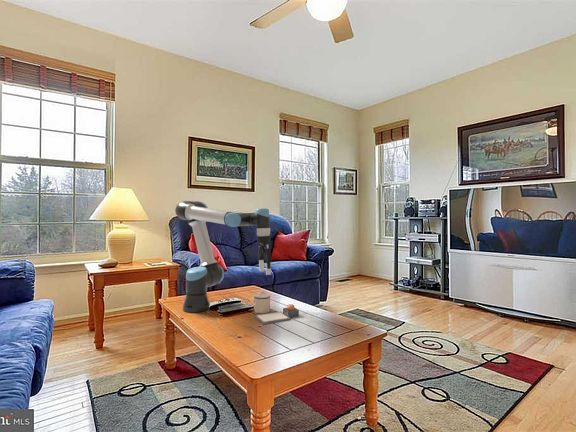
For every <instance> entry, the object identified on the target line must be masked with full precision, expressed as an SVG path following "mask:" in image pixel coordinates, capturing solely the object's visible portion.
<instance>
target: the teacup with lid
mask: <svg viewBox="0 0 576 432" xmlns="http://www.w3.org/2000/svg"><path fill="white" fill-rule="evenodd" d="M253 297H254V298H253V303H254V312H255V313H256V314H259V315H260V314H267V313H271V312H270V311H271V295H270V293H267V292H266V291H265V290H260V292H258V293H256V294H254V295H253Z"/></svg>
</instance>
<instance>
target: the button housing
mask: <svg viewBox="0 0 576 432" xmlns="http://www.w3.org/2000/svg"><path fill="white" fill-rule="evenodd" d="M282 313H283V314H285V315H286V316H288V317H290V318H291V319H292V318H296V317H299V316H300V314H299V313H300V310H299V309H298V308H297V307H295V306H294V310H291V311H288V310H287V307H283V308H282Z"/></svg>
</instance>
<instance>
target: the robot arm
mask: <svg viewBox="0 0 576 432" xmlns="http://www.w3.org/2000/svg"><path fill="white" fill-rule="evenodd" d="M174 209H175V215H176V216H177V217H178V218H179V219H180V220H182V221H187V223H188V225H189V226H190V227H191V228H192V233H193V236H194V240H195V245H196V249H197V250H196V251H197V253H198V257H199V260H200V264H199V266H194V267H191V268H188V269H187V271H186V273H185V298H184V301H183V303H182V310H183V312H186V313H201V312H205V311H208V310H210V308H209V306H210V307H211V303H210V301H209V297H208V288H210V287H213V286H217V285H219V284H221V282H223V279H224V277H225V270H224V268H223V267H221V265H219V262H218V261H217V260H216V259H215V256H214V252H213V248H212V244H211V240H210V239H211V238H210V236H209V231H208V228H207V224H206V223H207V222H209V223H214V224H220V225H226V226H228V227H232V228H235V227H246V226H250V227H251V226H256V241H257V243H258V250H257V251H258V253H257V259H258V269H259V271H258V272H264V271H265V275H266V276H267V275H268V276H269V275H270V276H271V275H272V262H273V259H272V253H271V247H270V244H268V243H271V230H272V229H271V226H270V222H271V221H270V220H271V219H270V217H271V216H270V209H268V208H256V210H255V212H234V211H226V210H220V209H215V208H209V207H208V206H207V204H206V203H204V202H202V201H200V200H199V201H193V200H183V201H180V202H179V203H178V204H176V206H175V208H174ZM264 260H265V262H264Z"/></svg>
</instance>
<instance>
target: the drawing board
mask: <svg viewBox="0 0 576 432" xmlns="http://www.w3.org/2000/svg"><path fill="white" fill-rule="evenodd" d="M253 318H255V319H256V320H257V321H258V322H260V323H261V324H262V325H267V324H268V325H269V324H274V323H279V322H287V321H291V320H292V318H290V317H288V316H286V315H285V314H283V311H282V312H281V311H276V312H274V311H273V312H268V313H263V314H260V313H259V314H254V315H253Z"/></svg>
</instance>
